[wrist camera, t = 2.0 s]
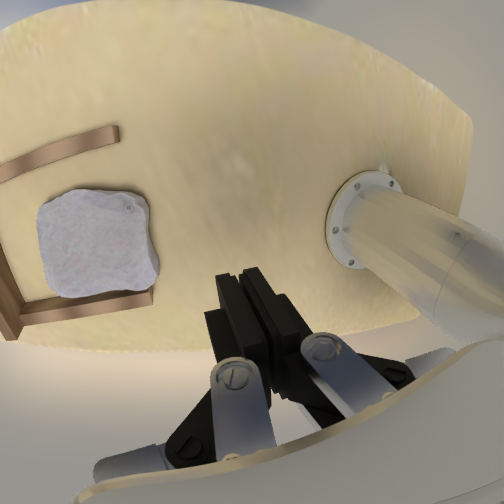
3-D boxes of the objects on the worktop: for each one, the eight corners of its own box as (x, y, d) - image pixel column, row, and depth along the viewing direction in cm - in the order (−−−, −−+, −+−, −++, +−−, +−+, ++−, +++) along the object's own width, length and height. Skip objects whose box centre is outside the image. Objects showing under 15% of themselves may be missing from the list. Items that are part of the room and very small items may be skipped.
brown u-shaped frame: (117, 125, 20) (105, 124, 15) (153, 291, 27) (152, 320, 23) (-28, 183, 15) (-53, 195, 11) (20, 314, 23) (6, 341, 19)
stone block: (46, 197, 21) (61, 288, 24) (26, 199, 17) (46, 306, 19) (151, 179, 25) (161, 275, 27) (148, 176, 20) (162, 292, 23)
